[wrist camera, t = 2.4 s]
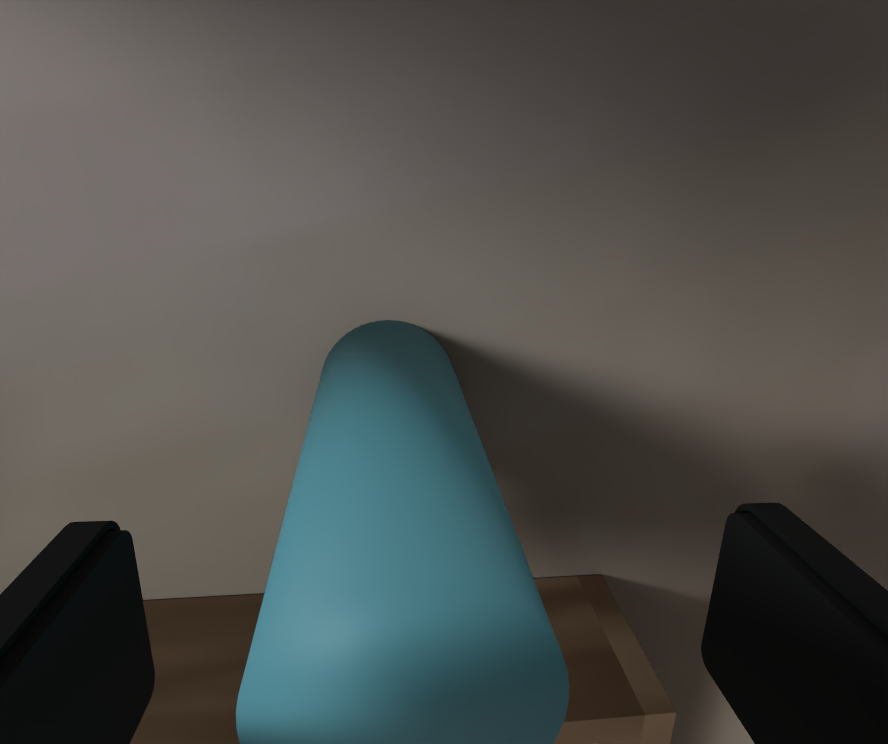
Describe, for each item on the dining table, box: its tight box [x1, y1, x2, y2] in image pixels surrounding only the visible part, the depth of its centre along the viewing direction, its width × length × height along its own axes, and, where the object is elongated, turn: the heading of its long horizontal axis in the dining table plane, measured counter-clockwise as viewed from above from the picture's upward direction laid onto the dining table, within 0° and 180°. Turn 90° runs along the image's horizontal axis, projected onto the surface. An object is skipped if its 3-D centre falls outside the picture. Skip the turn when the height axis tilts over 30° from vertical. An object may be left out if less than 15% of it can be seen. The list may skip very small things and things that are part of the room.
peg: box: [236, 320, 569, 744], centre depth 11 cm, size 4×4×10 cm
